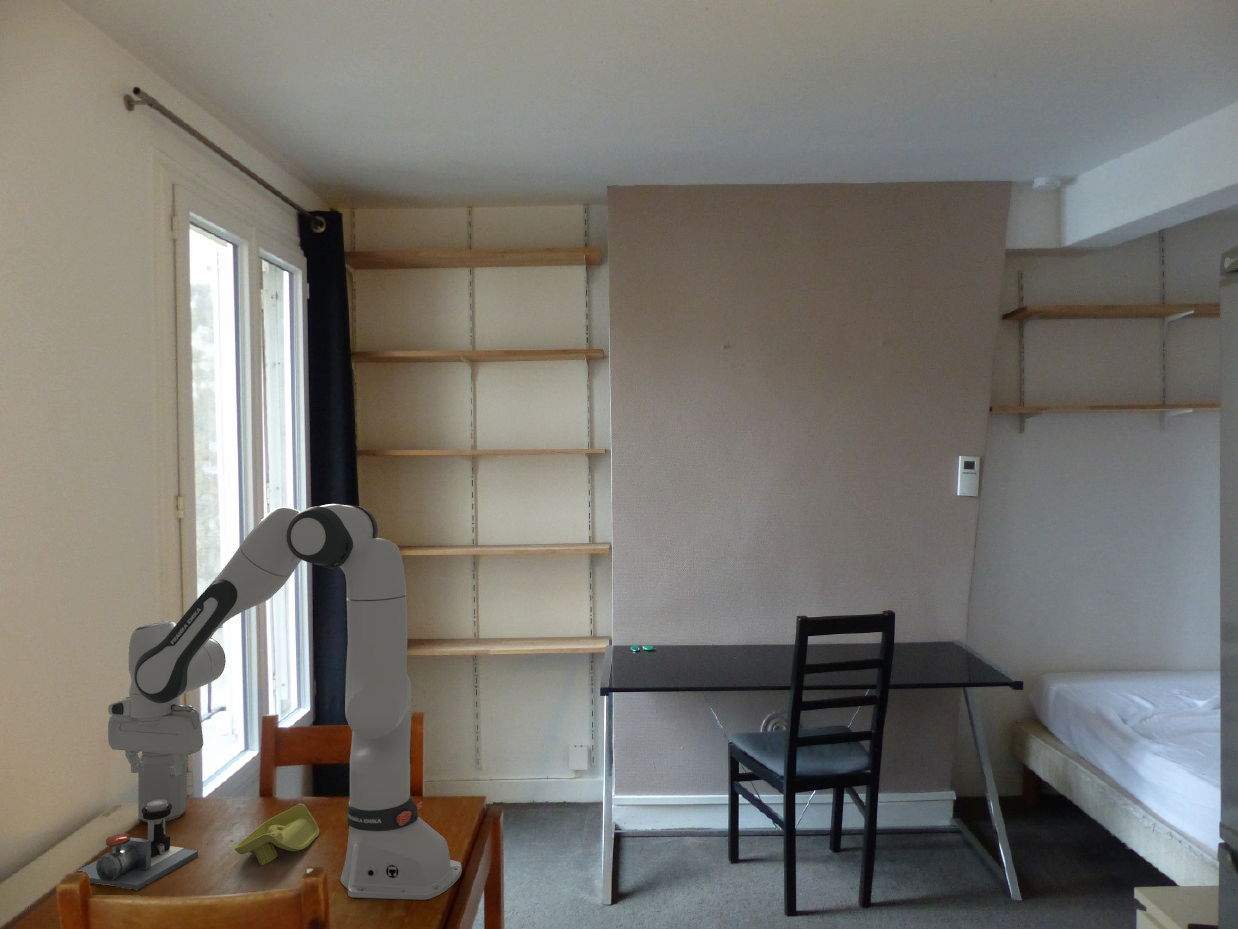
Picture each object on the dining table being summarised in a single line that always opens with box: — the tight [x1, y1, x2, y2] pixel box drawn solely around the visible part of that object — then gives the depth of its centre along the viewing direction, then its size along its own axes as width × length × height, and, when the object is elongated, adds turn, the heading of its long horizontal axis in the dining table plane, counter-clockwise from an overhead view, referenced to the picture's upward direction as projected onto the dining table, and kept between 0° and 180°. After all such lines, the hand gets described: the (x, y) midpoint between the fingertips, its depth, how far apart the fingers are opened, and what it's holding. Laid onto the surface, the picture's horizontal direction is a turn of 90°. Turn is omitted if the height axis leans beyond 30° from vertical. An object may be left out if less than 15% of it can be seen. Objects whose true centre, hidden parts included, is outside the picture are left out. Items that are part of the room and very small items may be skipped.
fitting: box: [96, 833, 151, 882], centre depth 163 cm, size 8×6×7 cm
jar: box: [137, 752, 187, 824], centre depth 193 cm, size 10×10×18 cm
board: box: [74, 845, 199, 890], centre depth 167 cm, size 16×15×1 cm
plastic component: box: [233, 803, 320, 866], centre depth 174 cm, size 20×7×10 cm
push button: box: [142, 799, 172, 858], centre depth 171 cm, size 7×5×10 cm
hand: (156, 773), depth 171 cm, fingers open, 8 cm apart
